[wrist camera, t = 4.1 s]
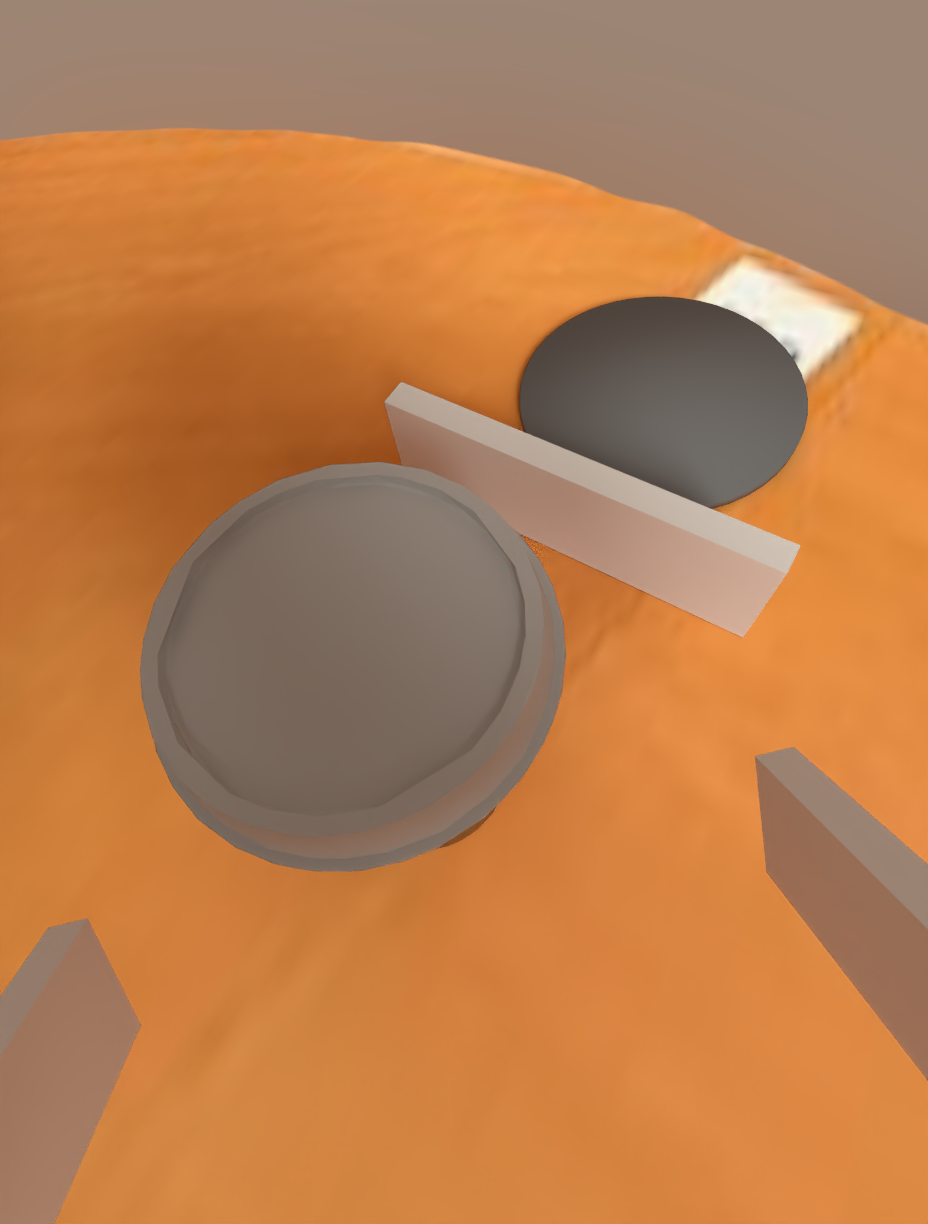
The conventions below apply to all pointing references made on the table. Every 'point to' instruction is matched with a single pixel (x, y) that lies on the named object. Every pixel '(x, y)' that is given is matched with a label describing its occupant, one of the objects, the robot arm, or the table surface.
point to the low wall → (596, 511)
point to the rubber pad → (669, 396)
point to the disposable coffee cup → (352, 667)
